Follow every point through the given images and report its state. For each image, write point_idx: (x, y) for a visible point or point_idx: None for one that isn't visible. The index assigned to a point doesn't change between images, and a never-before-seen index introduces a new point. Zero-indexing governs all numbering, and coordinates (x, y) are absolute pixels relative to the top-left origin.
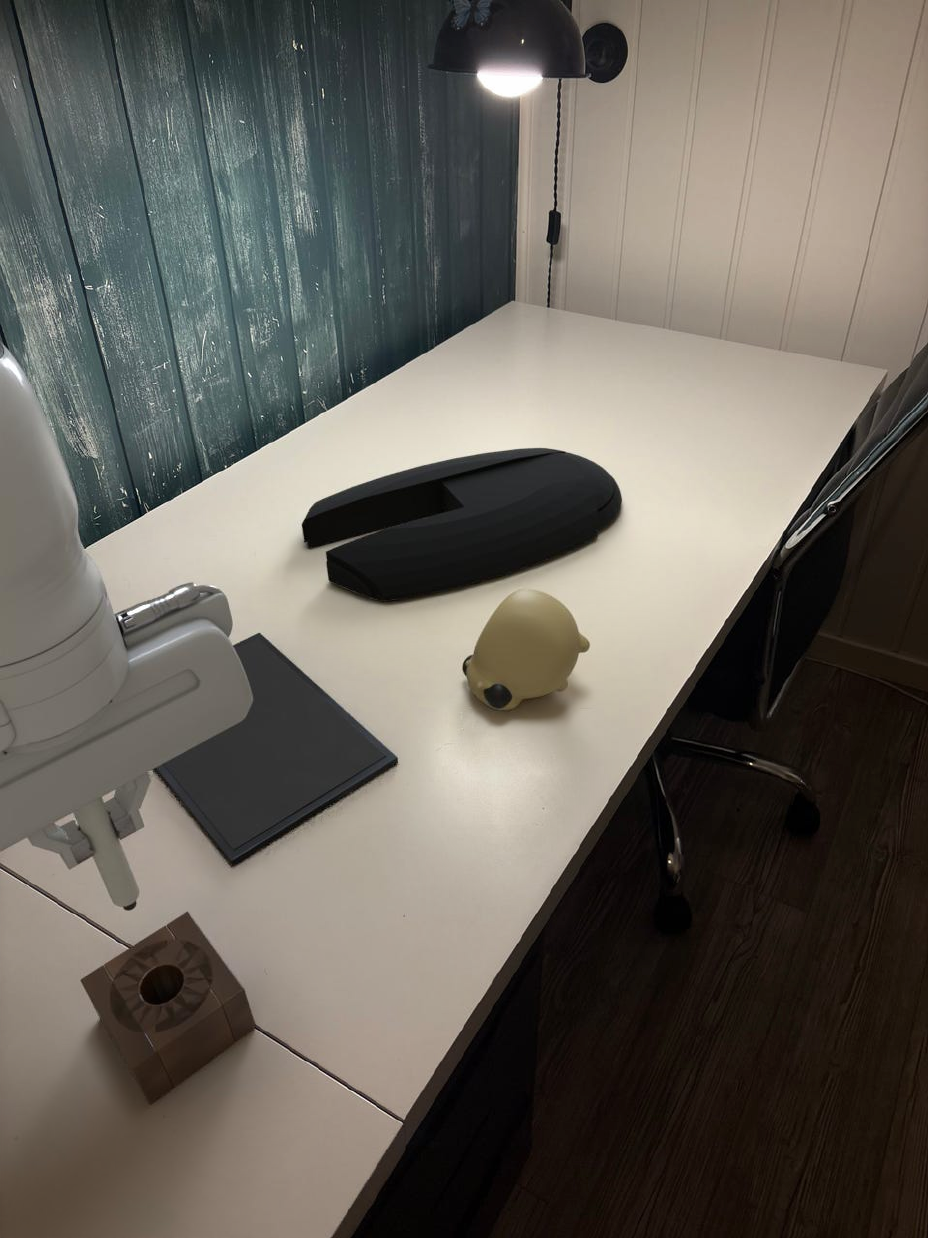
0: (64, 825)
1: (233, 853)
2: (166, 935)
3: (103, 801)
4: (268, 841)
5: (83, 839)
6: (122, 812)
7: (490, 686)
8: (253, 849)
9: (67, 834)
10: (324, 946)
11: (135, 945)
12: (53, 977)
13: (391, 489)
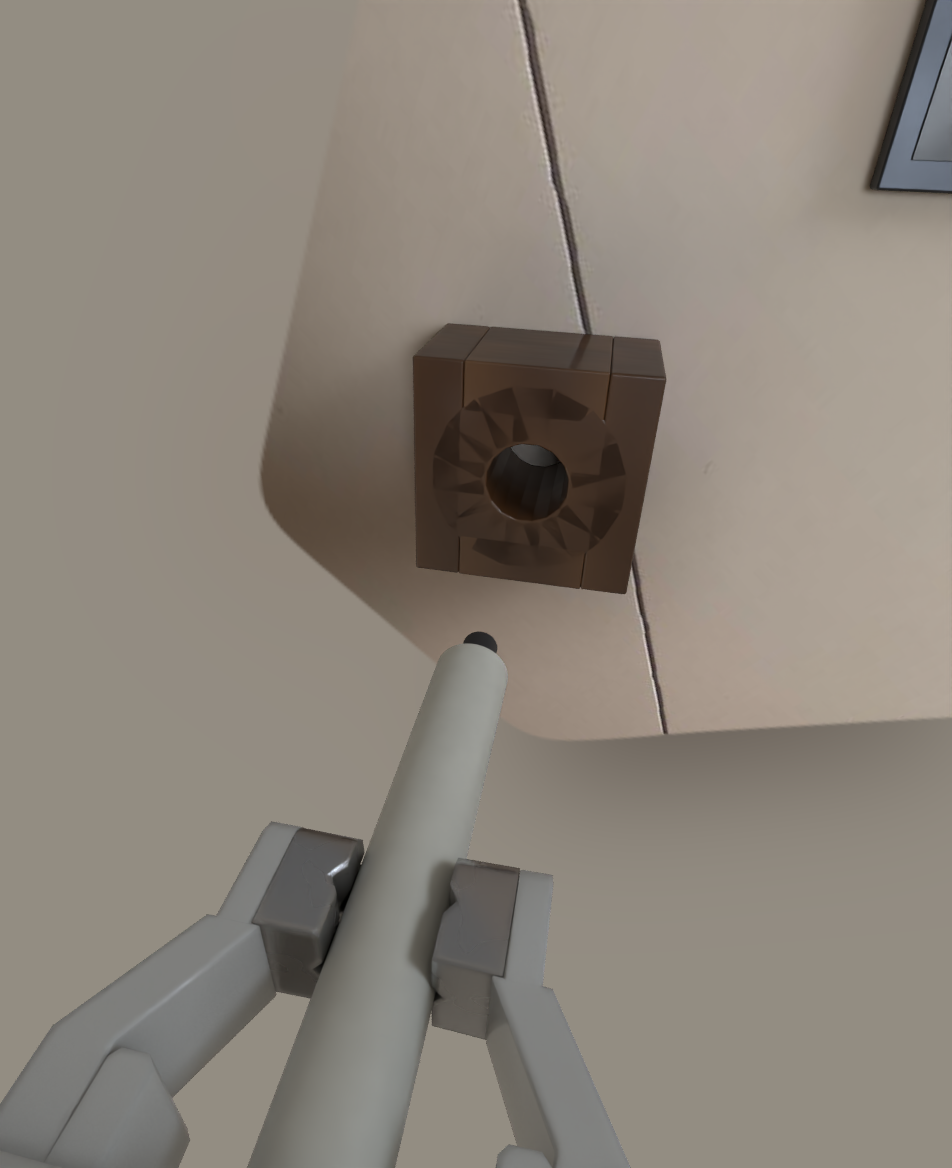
0: (277, 927)
1: (901, 170)
2: (594, 398)
3: (409, 1104)
4: None
5: None
6: (478, 1023)
7: None
8: (945, 192)
9: (275, 955)
10: (814, 506)
11: (534, 370)
12: (412, 159)
13: None
